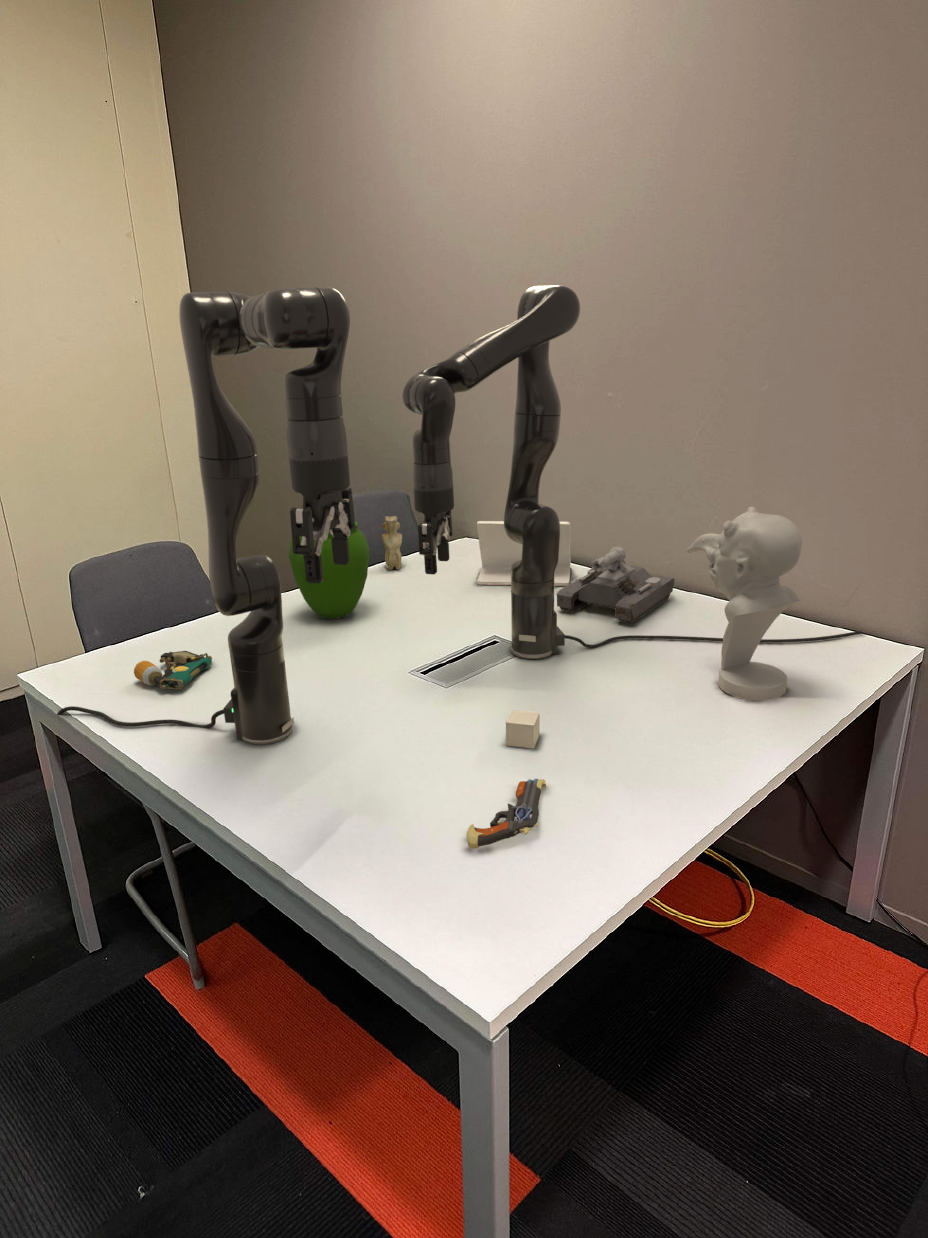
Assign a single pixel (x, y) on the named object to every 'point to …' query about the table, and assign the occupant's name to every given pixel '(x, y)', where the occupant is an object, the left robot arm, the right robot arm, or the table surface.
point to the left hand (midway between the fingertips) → (328, 572)
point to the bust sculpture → (751, 595)
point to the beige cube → (522, 729)
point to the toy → (616, 588)
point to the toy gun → (511, 816)
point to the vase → (334, 577)
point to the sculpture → (392, 542)
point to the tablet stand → (514, 554)
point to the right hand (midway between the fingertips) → (437, 567)
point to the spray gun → (172, 669)
